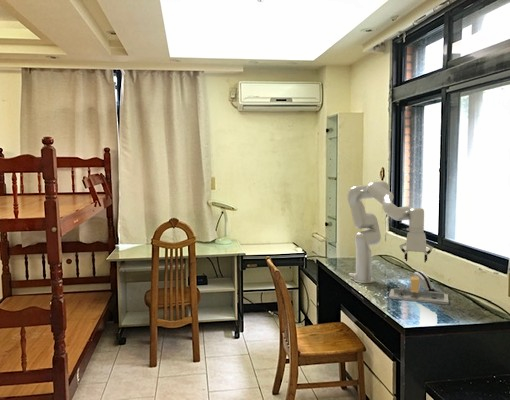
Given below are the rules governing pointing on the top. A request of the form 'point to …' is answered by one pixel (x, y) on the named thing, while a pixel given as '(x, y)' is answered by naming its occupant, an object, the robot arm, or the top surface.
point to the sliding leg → (414, 284)
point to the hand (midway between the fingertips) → (415, 261)
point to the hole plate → (419, 298)
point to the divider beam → (408, 291)
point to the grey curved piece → (424, 280)
